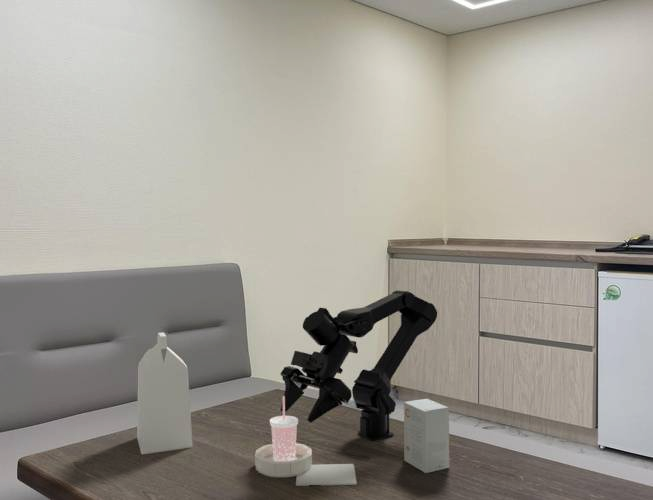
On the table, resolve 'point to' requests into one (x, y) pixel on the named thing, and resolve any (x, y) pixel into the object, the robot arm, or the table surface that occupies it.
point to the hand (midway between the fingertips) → (295, 416)
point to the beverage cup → (284, 436)
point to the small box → (426, 435)
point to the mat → (327, 475)
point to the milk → (163, 400)
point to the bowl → (283, 462)
